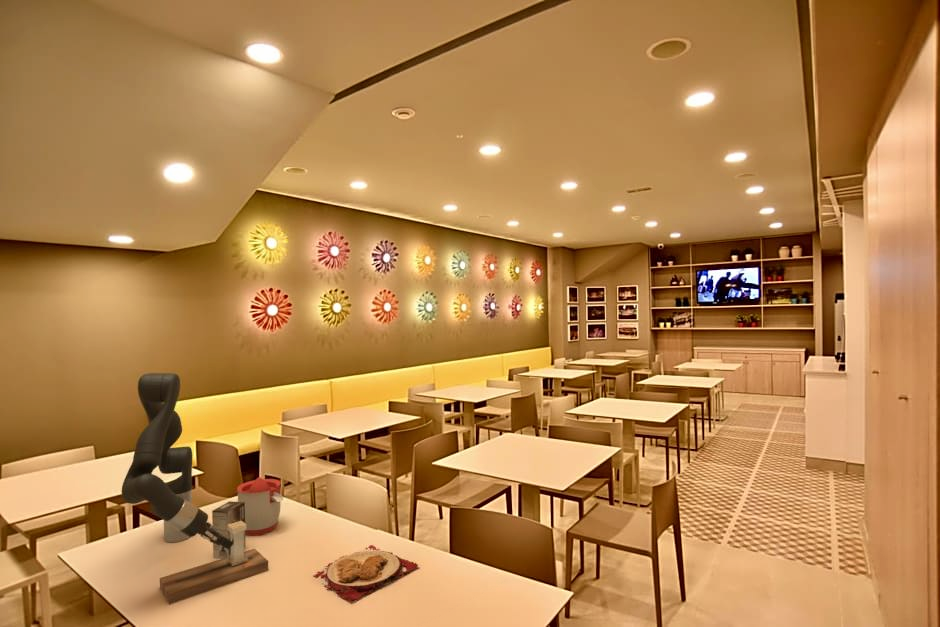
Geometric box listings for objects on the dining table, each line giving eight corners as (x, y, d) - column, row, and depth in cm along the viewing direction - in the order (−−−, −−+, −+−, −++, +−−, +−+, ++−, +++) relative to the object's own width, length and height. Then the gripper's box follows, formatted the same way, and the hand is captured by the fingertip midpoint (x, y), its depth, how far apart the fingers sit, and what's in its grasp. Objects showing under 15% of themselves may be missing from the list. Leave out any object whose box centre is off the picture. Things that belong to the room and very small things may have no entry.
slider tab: (226, 560, 163) (226, 524, 163) (242, 555, 166) (242, 520, 166) (231, 566, 159) (231, 529, 159) (248, 561, 162) (247, 524, 162)
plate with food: (419, 570, 163) (419, 559, 163) (350, 604, 143) (350, 592, 143) (371, 549, 179) (371, 539, 180) (303, 577, 159) (303, 565, 160)
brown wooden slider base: (159, 588, 153) (159, 577, 153) (254, 557, 172) (254, 547, 172) (169, 604, 144) (168, 592, 144) (268, 570, 163) (268, 559, 163)
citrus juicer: (267, 541, 184) (266, 486, 184) (227, 535, 189) (227, 482, 189) (293, 523, 199) (293, 473, 199) (256, 519, 204) (255, 469, 204)
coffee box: (230, 545, 181) (229, 500, 181) (246, 547, 180) (245, 501, 180) (212, 557, 172) (211, 510, 172) (228, 559, 171) (228, 511, 171)
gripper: (202, 512, 150) (246, 541, 158) (190, 501, 160) (232, 528, 168) (182, 536, 146) (228, 564, 155) (171, 522, 156) (215, 549, 164)
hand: (230, 545), depth 161 cm, fingers closed
